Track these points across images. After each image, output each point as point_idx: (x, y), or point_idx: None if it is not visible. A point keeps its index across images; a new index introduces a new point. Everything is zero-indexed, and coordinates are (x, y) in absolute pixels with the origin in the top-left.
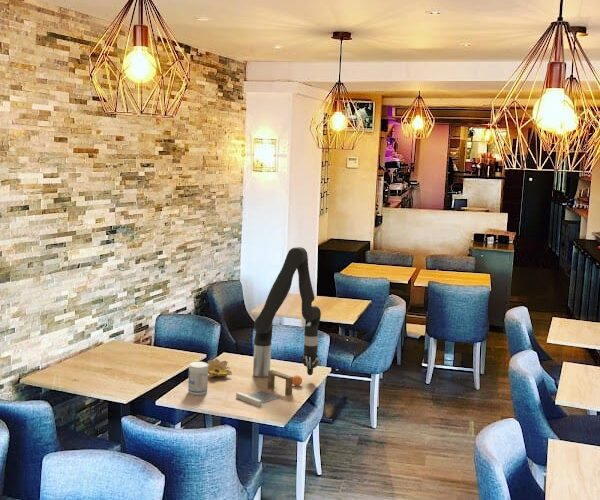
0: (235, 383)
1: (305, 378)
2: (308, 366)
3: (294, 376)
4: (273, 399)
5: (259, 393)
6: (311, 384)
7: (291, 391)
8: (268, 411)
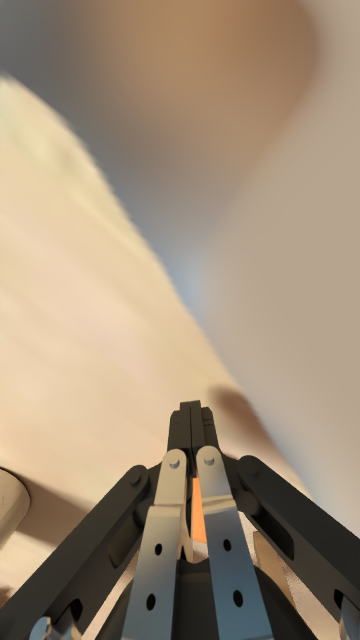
0: None
1: (137, 368)
2: (192, 504)
3: (199, 541)
4: None
5: None
6: (231, 402)
7: (276, 553)
8: (325, 637)
